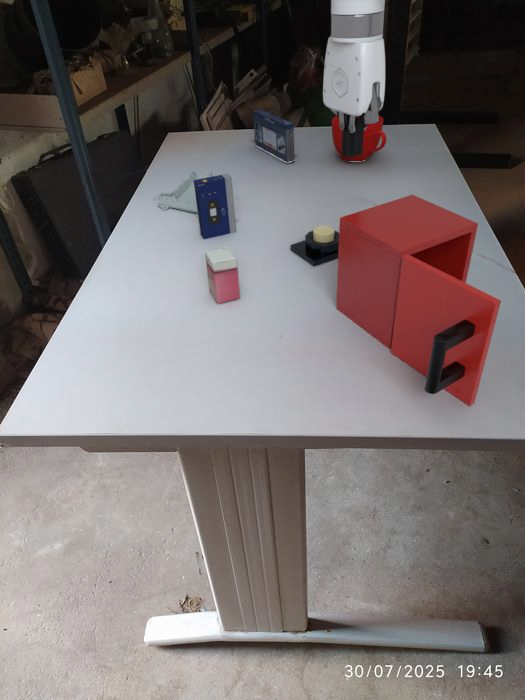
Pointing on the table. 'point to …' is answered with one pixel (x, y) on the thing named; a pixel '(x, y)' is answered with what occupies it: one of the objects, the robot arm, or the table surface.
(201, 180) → the cassette player
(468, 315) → the door
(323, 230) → the yellow button cap
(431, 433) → the table surface
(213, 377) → the table surface
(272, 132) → the vhs cassette tape
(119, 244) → the table surface
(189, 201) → the metal bracket
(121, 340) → the table surface
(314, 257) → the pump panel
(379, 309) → the cabinet
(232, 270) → the small box
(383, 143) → the ceramic cup
